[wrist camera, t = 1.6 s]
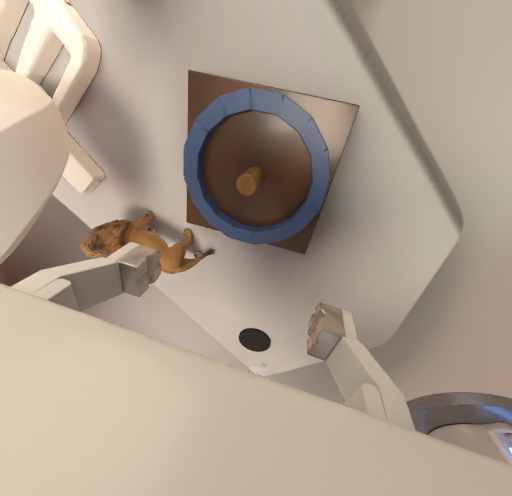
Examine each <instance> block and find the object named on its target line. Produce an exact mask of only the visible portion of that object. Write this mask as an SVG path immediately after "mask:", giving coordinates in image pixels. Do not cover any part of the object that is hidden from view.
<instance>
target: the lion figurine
mask: <svg viewBox="0 0 512 496" xmlns="http://www.w3.org/2000/svg"><path fill="white" fill-rule="evenodd" d="M145 215H146V217H144V218H141V219H138V220H136V221H135V222H133V223H132V222H131V221H128V220H125V219H124V220H120V221H119V220H115V221H112V222H109V223H105V224H102V225H100V226H97V227H95V228H94V229H91V230H90V231H88V232H87V233H86V234H85V235H84V237H83V239H82V241H81V242H80V243H79V246H80V247H81V249H82V250H83V252H84V253H85V254H86V256H89V257H95V258H101V257H104V258H106V257H108V256H109V255H111V254H113V253H114V252H116V251H117V250H119V249H120V248H122V247H123V246H125V245H126V244H128V243H129V242H134V243H137V244H140V245H143V246H146V247H149V248H152V249H155V250H158V251H160V252H161V259H160V260H159V262H160V263H161V265H162V270H161V271H163V272H165V273H169V274H175V273H177V272H183V271H185V270H188V269H190V268H191V267H193V266H194V265H196V264H197V263H198V262H199V261H200V260H201V259H203V258H204V257H206V256H208V255H211V254H215V252H214V251H211V250H210V251H207V252H206V253H204V254H201V253H199V252H196V253H194V256H195V258H194V259H187V258H184V256H185V253H186V249H187V248H188V247H189V246H191V245H192V232H191V231H190V230H189V229H185V230H184V233H183V234H184V236H186V237H187V238H186V240H185V241H182V242H180V243H176V244H175V245H173V246H172V247H170V248H169V247H168V245H167V244H166V242H165V241H164V240H163V239H162V238H161V237H160V236H158V235H157V234H155V233H156V231H155V229H153V228H151V227H150V228H148V229H147V231H146V230H145V228H146V225H147V224H148V223H150V222H152V221H153V219H154V215H153V213H152V212H150V211H148V212H147V213H146V214H145Z"/></svg>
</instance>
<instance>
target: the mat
mask: <svg viewBox="0 0 512 496" xmlns="http://www.w3.org/2000/svg"><path fill="white" fill-rule="evenodd" d="M239 341H240V343H241V344H242V345H243V346H244V347H245V348H247V349H249V350H252V351H256V352H261V351H265V350H267V349H268V348H269V347H270V338H269V337H268V336H267V335H266V334H265V333H264V332H262V331H260V330H257V329H245V330H243V331H242V332H241V333H240V335H239Z"/></svg>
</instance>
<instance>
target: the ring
mask: <svg viewBox="0 0 512 496" xmlns="http://www.w3.org/2000/svg"><path fill="white" fill-rule="evenodd" d="M253 110H255V111H260V112H264V113H269V114H273V115H277V116H278V117H280V118H281V119H282V120H283V121H285V122H286V123H287V124H288V125H290V126H291V127H292V128H294V129H295V130H296V131H297V132H298V133H299V135H300V137H301V139H302V141H303V142H304V144H305V146H306V148H307V150H308V152H309V154H310V156H311V167H312V182H311V185H310V188H309V191H308V194H307V198H306V200H305V201H304V203H303V204H302V205H301V206H300V207H299V208H298V210H297V211H296V212H295V213H294V214H293V216H291V217H289V218H287V219H286V220H284V221H282V222H280V223H278V224H276V225H270V226H261V227H254V226H250V225H246V224H242V223H239V222H237V221H235V220H234V219H232V218H231V217H229V216H228V215H226V214H225V213H224V212H222V211H221V210H220V208H219V207H218V206H217V204H216V203H215V202H214V200H213V199H212V197H211V196H210V195H209V192H208V189H207V185H206V182H205V179H204V176H203V166H204V151H205V149H206V147H207V145H208V143H209V141H210V138H211V136H212V134H213V132H214V131H215V130H216V129H217V128H218V127H219V126H220V125H222V124H223V123H224V122H225V121H226V120H227V119H229V118H230V117H231V116H234V115H237V114H241V113H245V112H249V111H253ZM311 117H312V116H311V115H310V114H308V113H307V112H306V111H305V110H303V109H302V108H301V107H300V106H299V105H297V104H296V103H295V102H294V101H292V100H291V99H290V98H289V97H287V96H286V95H284V94H281V93H276V92H271V91H267V90H262V89H257V88H246V89H242V90H239V91H236V92H232V93H229V94H225V95H222V96H220V97H217V98H216V99H215V100H214V101H213V102H212V103H211V104H210V105H209V106H208V107H207V108H206V109H205V110H204V111H203V112H202V113H201V114H200V115H199V116H197V117H196V119H197V120H195V121H194V123H193V126H192V128H191V131H190V133H189V136H188V138H187V141H186V143H185V146H184V147H185V148H184V176H186V177H184V179H185V181H186V184H187V187H188V190H189V193H190V196H191V199H192V202H194V203H193V204H194V205H195V206H196V208H197V209H198V210H199V211H200V213H201V214H202V215H203V217H204V218H205V219H206V221H207V222H208V223H210V225H212V226H213V227H215V228H216V229H217V230H219V231H220V232H222V233H223V234H225V235H226V236H228V237H230V236H231V238H232V239H236V240H240V241H243V242H247V243H251V244H253V243H254V244H264V243H277V241H278V242H280V241H282V240H284V239H286V238H288V237H290V236H292V235H294V234H296V233H298V232H300V230H301V231H302V230H303V229H304V227H305V226H306V225H307V224H308V223H309V222H310V221H311V220H312V219H313V218H314V216H315V215H316V214H317V213H318V212H319V210H320V208H321V205H322V203H323V200H324V197H325V195H326V192H327V189H328V186H329V182H330V173H329V151H328V147H327V145H326V143H325V141H324V139H323V137H322V135H321V133H320V131H319V129H318V127H317V125H316V123H315V121H314V119H313V118H312V119H311Z"/></svg>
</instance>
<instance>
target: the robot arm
mask: <svg viewBox="0 0 512 496" xmlns="http://www.w3.org/2000/svg"><path fill="white" fill-rule="evenodd" d="M160 259H161V252H160V251H158V250H155V249H152V248H149V247H146V246H143V245H140V244H137V243H134V242H129V243H128V244H126V245H125V246H123V247H122V248H120V249H119V250H117V251H116V252H114V253H113V254H111V255H109V256H108V257H106V258H104V257H101V258H96V259H91V260H87V261H82V262H77V263H72V264H68V265H63V266H58V267H53V268H49V269H44V270H40V271H38V272H37V273H35V274H33V275H31V276H29V277H27V278H26V279H24V280H22V281H20V282H18V283H16V284H15V285H13V286H11V287H9V286H6V285H3V284H0V496H512V426H510V425H508V424H506V423H489V424H480V425H477V424H457V425H449V426H444V427H440V428H438V429H435V430H433V431H432V432H430V433H429V434H428V435H426V434H423V433H420V432H417V431H416V429H415V426H414V423H413V420H412V417H411V414H410V411H409V408H408V405H407V402H406V399H405V396H404V395H403V393H402V392H401V391H400V390H399V388H398V387H397V386H396V385H395V383H394V382H393V381H392V380H391V379H390V377H389V376H388V375H387V373H386V372H385V371H384V370H383V369H382V367H381V366H380V365H379V364H378V362H377V361H376V360H375V359H374V358H373V356H372V355H371V354H370V352H369V351H368V350H367V349H366V347H365V346H364V345H363V344H362V343H361V342H358V337H357V333H356V328H355V323H354V319H353V314H352V313H351V312H349V311H346V310H342V309H338V308H335V307H332V306H329V305H326V304H322V303H319V304H318V305H317V307H316V313H314V314H312V316H311V318H310V321H309V324H308V335H309V336H310V338H309V340H308V341H307V354H308V355H311V356H314V357H316V358H319V359H322V360H325V362H326V365H327V366H328V369H329V371H330V373H331V374H332V376H333V379H334V380H335V383H336V385H337V387H338V389H339V391H340V393H341V395H342V397H343V399H344V401H345V403H344V404H343V405H341V404H339V403H336V402H333V401H330V400H327V399H324V398H321V397H319V396H316V395H313V394H310V393H307V392H305V391H302V390H299V389H296V388H294V387H291V386H288V385H285V384H282V383H279V382H276V381H274V380H271V379H268V378H265V377H262V376H260V375H257V374H254V373H251V372H248V371H245V370H243V369H240V368H237V367H234V366H231V365H228V364H226V363H223V362H220V361H217V360H214V359H212V358H209V357H206V356H203V355H200V354H197V353H195V352H192V351H189V350H186V349H183V348H181V347H178V346H175V345H172V344H169V343H167V342H164V341H161V340H158V339H155V338H152V337H150V336H147V335H144V334H141V333H138V332H136V331H133V330H129V329H127V328H124V327H121V326H118V325H116V324H113V323H110V322H107V321H105V320H102V319H99V318H96V317H93V316H90V315H88V314H85V313H82V312H81V311H82V310H85V309H87V308H89V307H92V306H94V305H97V304H99V303H101V302H103V301H106V300H108V299H110V298H113V297H115V296H117V295H119V294H122V293H123V292H125V293H129V294H132V295H135V296H138V297H140V296H141V295H142V294H143V293H144V292H145V291H146V290H147V289H148V288H149V284H151V283H154V282H155V281H156V280H157V279H158V277H159V276H160V274H161V270H162V265H161V263H160V262H159V260H160Z"/></svg>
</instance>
